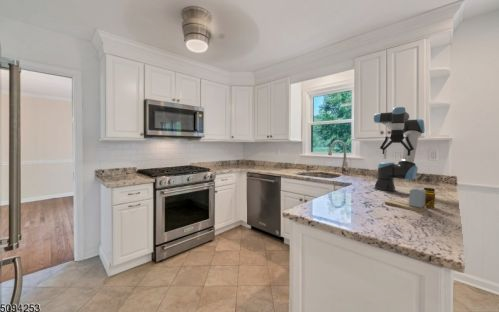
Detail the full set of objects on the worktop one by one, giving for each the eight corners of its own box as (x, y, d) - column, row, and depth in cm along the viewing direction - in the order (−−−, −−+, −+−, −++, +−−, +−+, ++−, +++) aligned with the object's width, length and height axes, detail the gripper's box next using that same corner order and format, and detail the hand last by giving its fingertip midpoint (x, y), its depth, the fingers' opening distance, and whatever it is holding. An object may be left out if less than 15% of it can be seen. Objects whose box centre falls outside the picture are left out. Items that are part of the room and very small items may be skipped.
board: (391, 201, 150) (391, 199, 150) (426, 208, 136) (426, 205, 136) (384, 204, 143) (385, 201, 143) (421, 212, 128) (421, 209, 128)
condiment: (423, 207, 137) (425, 188, 136) (417, 204, 145) (419, 186, 144) (437, 209, 135) (439, 189, 134) (431, 205, 143) (432, 187, 142)
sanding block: (412, 203, 139) (414, 187, 139) (424, 206, 135) (426, 189, 134) (408, 206, 134) (410, 189, 134) (420, 208, 130) (422, 191, 129)
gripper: (376, 129, 162) (374, 158, 164) (417, 129, 143) (415, 161, 145) (380, 130, 167) (378, 157, 169) (420, 129, 148) (418, 160, 150)
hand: (395, 159), depth 157 cm, fingers open, 13 cm apart
